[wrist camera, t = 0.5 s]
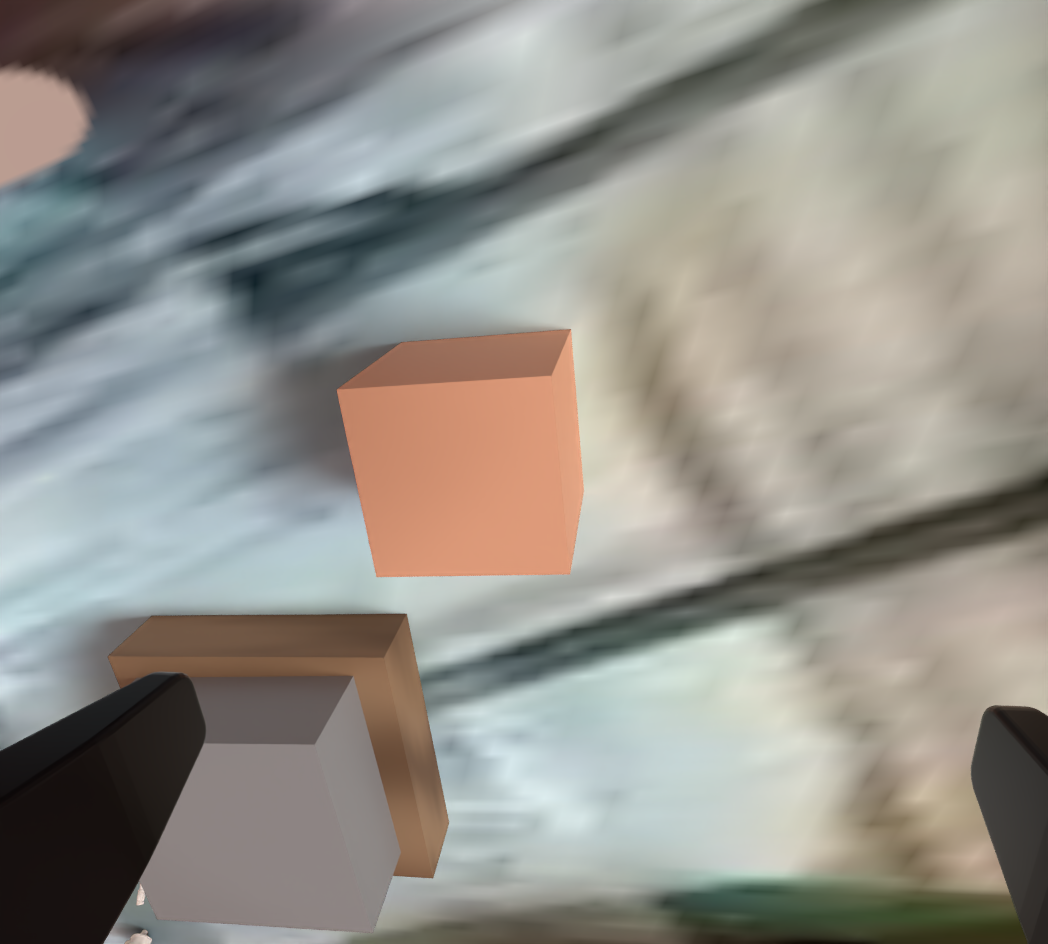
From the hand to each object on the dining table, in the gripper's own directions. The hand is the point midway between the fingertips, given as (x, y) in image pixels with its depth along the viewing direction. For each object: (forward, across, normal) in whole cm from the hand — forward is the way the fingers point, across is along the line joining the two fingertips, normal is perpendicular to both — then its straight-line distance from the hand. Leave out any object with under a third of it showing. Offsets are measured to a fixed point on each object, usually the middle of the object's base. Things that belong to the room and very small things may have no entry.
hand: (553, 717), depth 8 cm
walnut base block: (+14, +12, +13) cm, 23 cm away
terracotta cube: (+14, +3, +1) cm, 14 cm away
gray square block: (+11, +12, +13) cm, 21 cm away
